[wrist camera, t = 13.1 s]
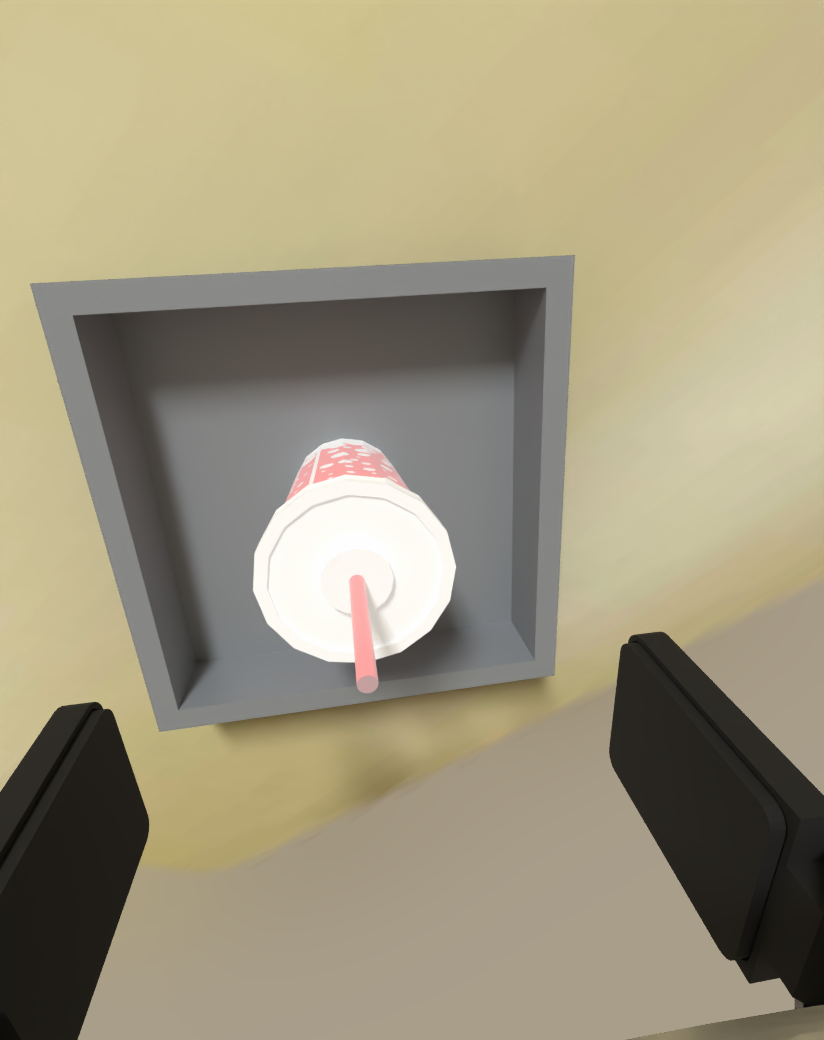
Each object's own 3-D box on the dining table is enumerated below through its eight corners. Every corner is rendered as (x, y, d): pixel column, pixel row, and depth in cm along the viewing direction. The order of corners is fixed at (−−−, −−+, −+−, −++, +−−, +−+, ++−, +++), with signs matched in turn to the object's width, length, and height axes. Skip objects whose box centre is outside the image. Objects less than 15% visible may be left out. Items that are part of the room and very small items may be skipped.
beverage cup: (320, 571, 26) (313, 830, 13) (250, 461, 24) (157, 644, 11) (435, 513, 26) (543, 718, 13) (376, 395, 23) (434, 502, 10)
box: (530, 264, 23) (574, 255, 19) (523, 624, 30) (554, 675, 26) (87, 288, 21) (30, 283, 17) (184, 668, 28) (159, 731, 24)
